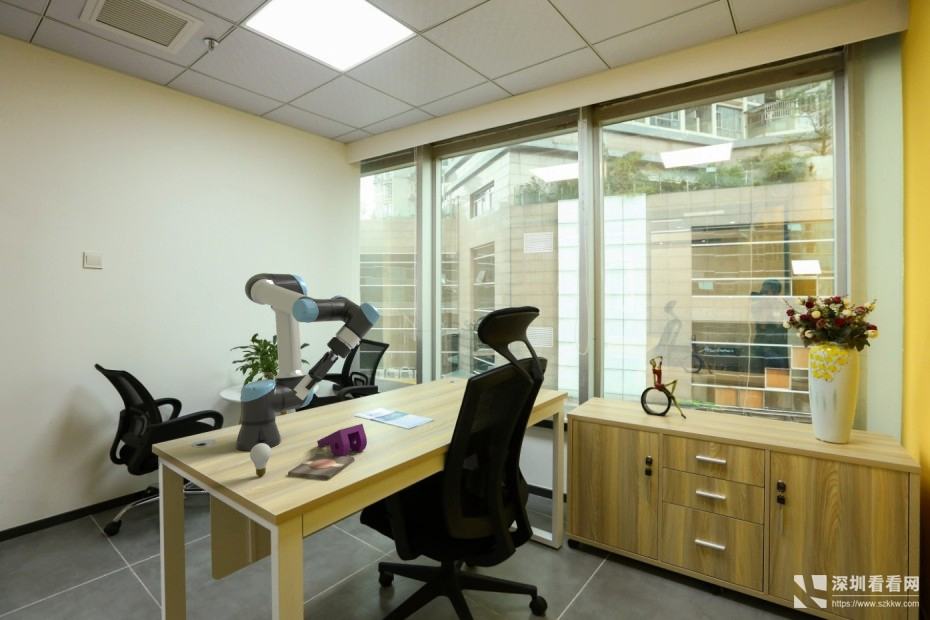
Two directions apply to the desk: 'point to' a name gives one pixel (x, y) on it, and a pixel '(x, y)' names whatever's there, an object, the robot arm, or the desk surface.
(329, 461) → the board
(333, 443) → the mounting bracket
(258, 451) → the light bulb
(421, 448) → the desk surface
